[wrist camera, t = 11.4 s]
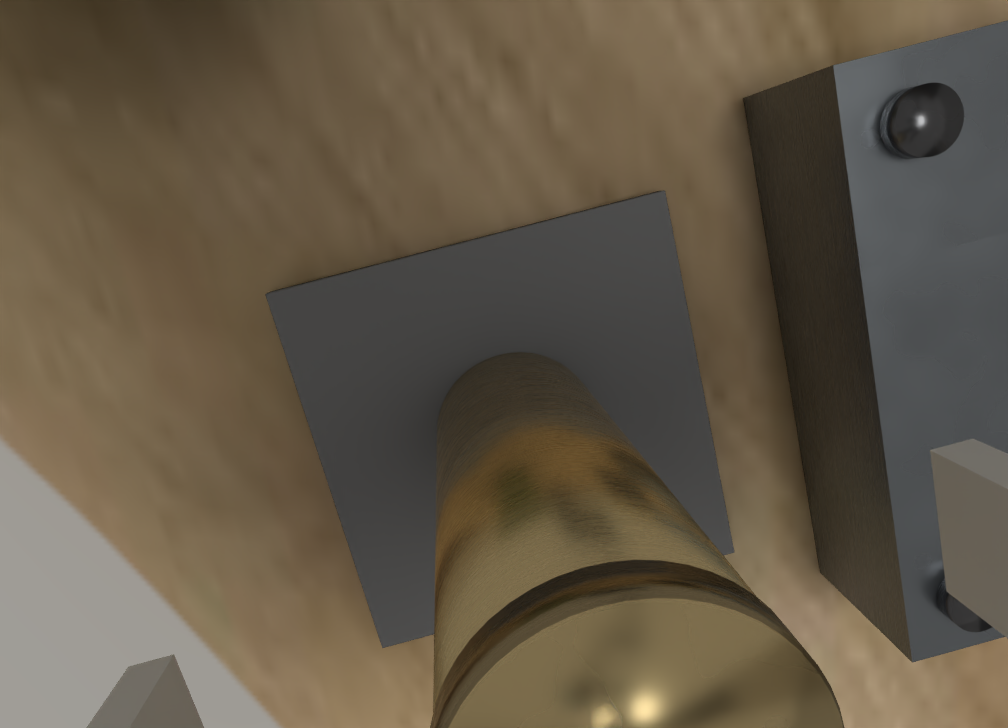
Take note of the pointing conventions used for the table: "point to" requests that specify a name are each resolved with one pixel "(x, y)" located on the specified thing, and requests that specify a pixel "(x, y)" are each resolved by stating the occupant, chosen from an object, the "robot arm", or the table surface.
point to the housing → (891, 305)
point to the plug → (588, 578)
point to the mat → (474, 338)
